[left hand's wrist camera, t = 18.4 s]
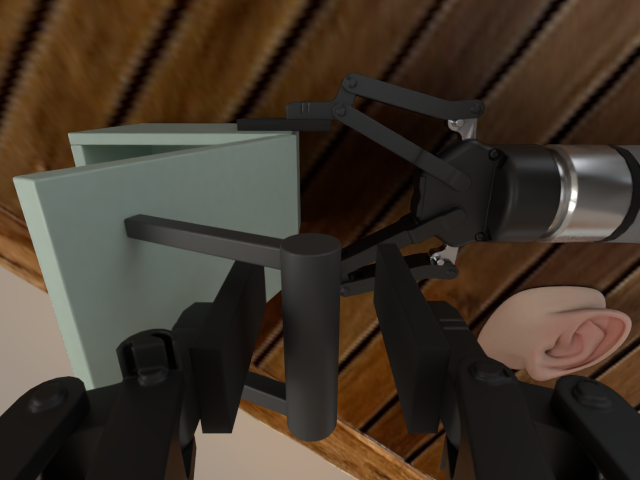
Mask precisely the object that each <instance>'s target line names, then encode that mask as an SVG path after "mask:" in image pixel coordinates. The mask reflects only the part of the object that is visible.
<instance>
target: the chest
mask: <svg viewBox="0 0 640 480" xmlns="http://www.w3.org/2000/svg"><path fill="white" fill-rule="evenodd" d="M281 134H288V135H296V147H297V195H298V234H299V230H300V223H301V222H300V167H299V131H237V124H222V123H141V124H134V125H126V126H119V127H111V128H103V129H96V130H88V131H80V132H73V133H68V136H69V140H70V144H71V148H72V152H73V156H74V160H75V165H76V167H79V166H85V165H91V164H98V163H104V162H110V161H117V160H123V159H129V158H136V157H142V156H148V155H155V154H161V153H167V152H174V151H180V150H186V149H193V148H199V147H205V146H212V145H218V144H224V143H230V142H237V141H243V140H249V139H256V138H262V137H268V136H275V135H281Z"/></svg>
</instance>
